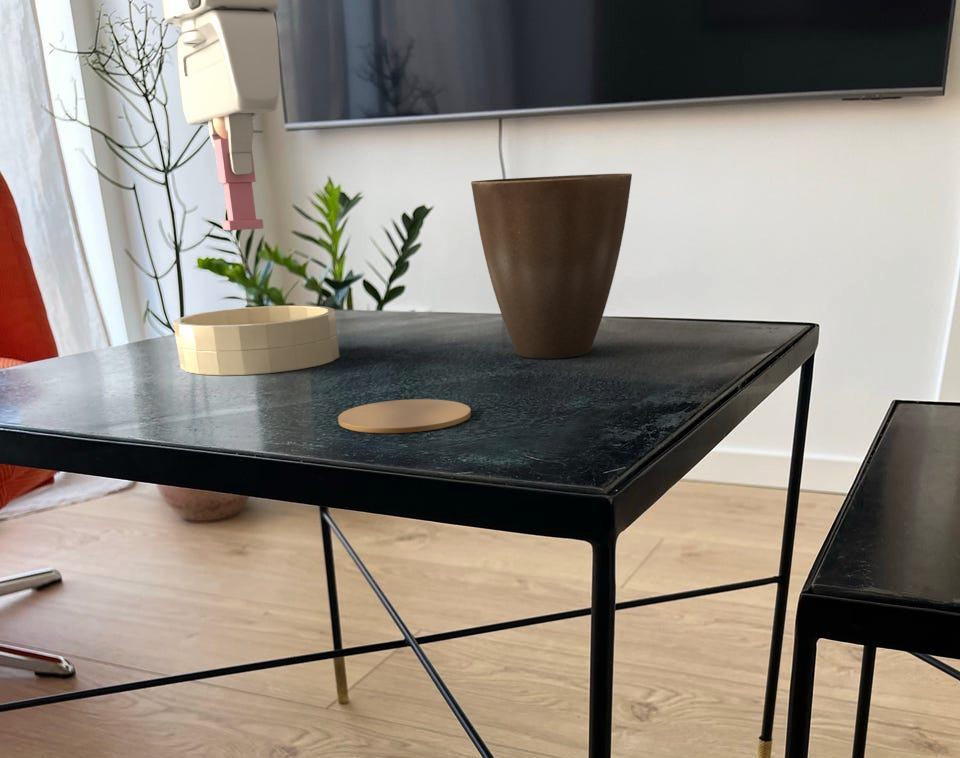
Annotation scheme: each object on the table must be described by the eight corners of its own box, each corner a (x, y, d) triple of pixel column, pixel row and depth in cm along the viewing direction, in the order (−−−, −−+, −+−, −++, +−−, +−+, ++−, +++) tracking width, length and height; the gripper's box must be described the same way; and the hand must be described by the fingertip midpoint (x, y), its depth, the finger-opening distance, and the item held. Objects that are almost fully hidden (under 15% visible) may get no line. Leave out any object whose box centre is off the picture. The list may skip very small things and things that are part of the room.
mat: (367, 440, 70) (367, 434, 70) (320, 415, 79) (319, 410, 78) (494, 420, 74) (494, 414, 74) (436, 398, 83) (436, 393, 82)
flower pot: (650, 359, 95) (654, 171, 89) (494, 371, 93) (487, 180, 86) (603, 337, 109) (604, 173, 102) (466, 347, 106) (458, 180, 100)
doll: (230, 230, 93) (214, 102, 89) (222, 229, 96) (205, 104, 92) (264, 228, 95) (249, 101, 90) (255, 228, 97) (240, 104, 93)
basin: (203, 388, 92) (194, 331, 89) (167, 366, 104) (159, 315, 102) (362, 368, 98) (357, 314, 96) (310, 349, 110) (305, 301, 108)
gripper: (153, 16, 95) (177, 178, 101) (206, -24, 78) (231, 173, 84) (220, 18, 97) (239, 176, 103) (285, -20, 81) (304, 170, 87)
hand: (236, 175), depth 93 cm, fingers closed on doll, 2 cm apart
